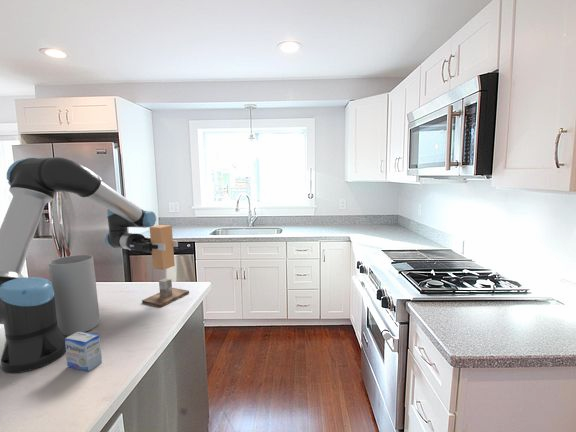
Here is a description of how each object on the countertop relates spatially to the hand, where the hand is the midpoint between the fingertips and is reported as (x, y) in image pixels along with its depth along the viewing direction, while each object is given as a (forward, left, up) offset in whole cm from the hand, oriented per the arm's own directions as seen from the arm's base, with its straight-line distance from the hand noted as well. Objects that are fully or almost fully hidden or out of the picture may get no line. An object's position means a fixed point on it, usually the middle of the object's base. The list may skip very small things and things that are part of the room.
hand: (170, 245), depth 127 cm
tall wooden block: (+4, +4, -10) cm, 11 cm away
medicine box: (-39, +23, -24) cm, 52 cm away
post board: (+4, +3, -24) cm, 25 cm away
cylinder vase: (-13, +32, -24) cm, 42 cm away
